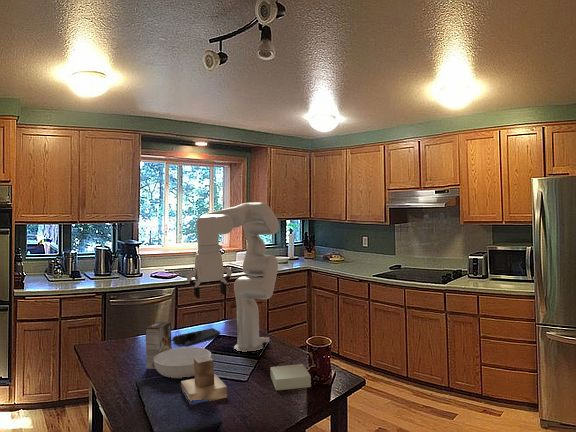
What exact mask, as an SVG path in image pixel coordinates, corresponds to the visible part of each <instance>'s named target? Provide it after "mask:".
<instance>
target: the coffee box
mask: <svg viewBox="0 0 576 432" xmlns="http://www.w3.org/2000/svg"><path fill="white" fill-rule="evenodd" d="M171 324H172V322H169V321H168V322H167V321H157V322H155V323H153V324H150V325H148V326H147V327H145V328H144V329H145V354H146V355H145V358H146V359H145V360H146V369H147V370H156V368H155V365H154V360H153V359H154V357H155V356H156V355H157V354H159V353H161V352H163V351H166V350H170V349H173V348H172V341H171V340H172V325H171Z"/></svg>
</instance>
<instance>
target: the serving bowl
mask: <svg viewBox="0 0 576 432" xmlns="http://www.w3.org/2000/svg"><path fill="white" fill-rule="evenodd" d="M205 356H209V357H211V358H212V352H211V351H210V350H208V349H206V348H204V347H197V346H185V347H183V346H182V347H176V348H172V349H170V350H166V351H163V352H161V353H159V354H157V355H156V356H155V357H154V359H153V360H154V365H155V368H156V369H155V370H156V371H157V372H158V373H159V374H160V375H162V376H164V377H167V378H170V377H171V378H170V379H183V378H182V377H187V378H192V377H195V376H194V359H195V358H200V357H205Z"/></svg>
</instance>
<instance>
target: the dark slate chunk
mask: <svg viewBox="0 0 576 432" xmlns="http://www.w3.org/2000/svg"><path fill="white" fill-rule="evenodd" d="M220 334H221V331H219V330H217V329H216V328H213V327H212V328H206V329H203V330H197V331H193V332H188V333H183V334H178V335H175V336H173V337H172V338H171V342H172V343H174V344H176V345H178V346H179V345H180V346H185V347H190V346H191V345H195V344H198V343H202V342H205V341H207V340H210V339H213V338H216V337H217V336H219V335H220Z"/></svg>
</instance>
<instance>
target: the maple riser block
mask: <svg viewBox="0 0 576 432" xmlns="http://www.w3.org/2000/svg"><path fill="white" fill-rule="evenodd" d="M181 387H182V389H183V390H184V392H185V393H186V395H187V397H188V399H189V400H190V401H192V400H202V399H207V400H209V402H213V401H217V400H221V399H227V398H228V387H227V385H226V384H225V383H224V382H223V381H222V380H221V378H220V377H219V376H218V375H217V374H216V373H214V385H210V386H206V387H202V388H199V387H198V386H197V385H196V384H195V377H194V378H190V379H185V380H181V381H180V388H181Z"/></svg>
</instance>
